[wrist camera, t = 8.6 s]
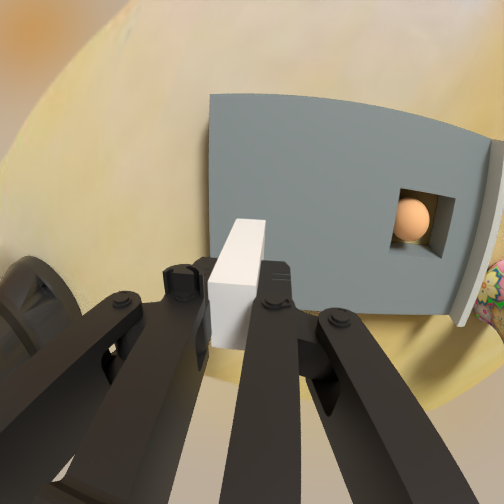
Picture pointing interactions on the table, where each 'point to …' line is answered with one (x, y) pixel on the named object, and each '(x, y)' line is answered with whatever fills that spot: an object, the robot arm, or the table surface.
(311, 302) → the board
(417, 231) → the ball
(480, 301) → the mug
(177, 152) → the table surface
